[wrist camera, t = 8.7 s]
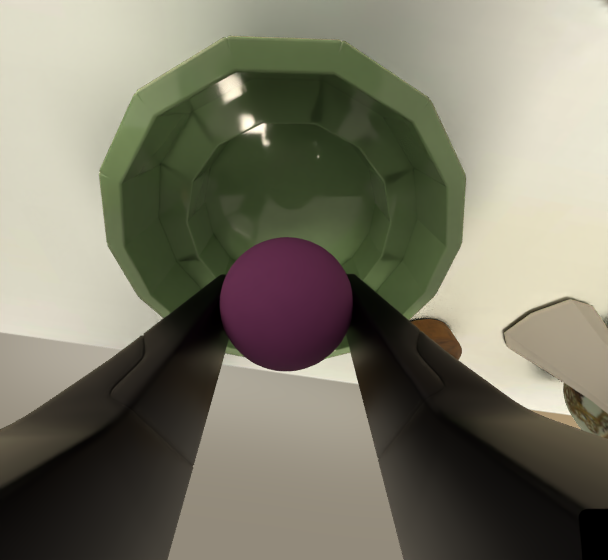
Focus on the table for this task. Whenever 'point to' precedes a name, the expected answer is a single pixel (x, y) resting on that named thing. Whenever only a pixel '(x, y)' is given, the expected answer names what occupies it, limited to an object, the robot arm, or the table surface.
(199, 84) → the green bowl
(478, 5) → the table surface
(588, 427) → the bowl
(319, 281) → the ball
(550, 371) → the flask
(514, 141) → the table surface
